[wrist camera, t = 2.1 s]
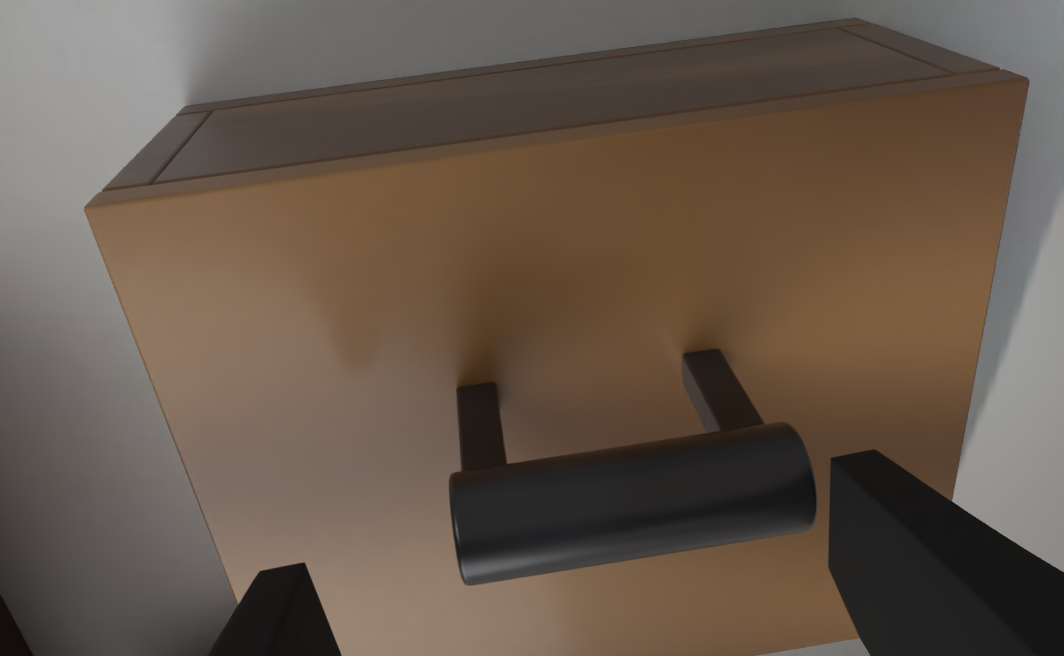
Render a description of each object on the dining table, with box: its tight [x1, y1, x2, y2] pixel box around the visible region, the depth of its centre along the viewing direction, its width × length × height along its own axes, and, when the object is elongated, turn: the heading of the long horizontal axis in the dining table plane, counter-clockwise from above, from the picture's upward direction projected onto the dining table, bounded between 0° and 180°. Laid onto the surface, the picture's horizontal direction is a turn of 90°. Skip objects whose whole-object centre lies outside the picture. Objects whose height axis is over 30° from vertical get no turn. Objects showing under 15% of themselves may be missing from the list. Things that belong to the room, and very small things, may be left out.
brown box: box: [84, 69, 1029, 656], centre depth 14 cm, size 12×15×5 cm
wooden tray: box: [102, 18, 1001, 192], centre depth 19 cm, size 12×15×5 cm
